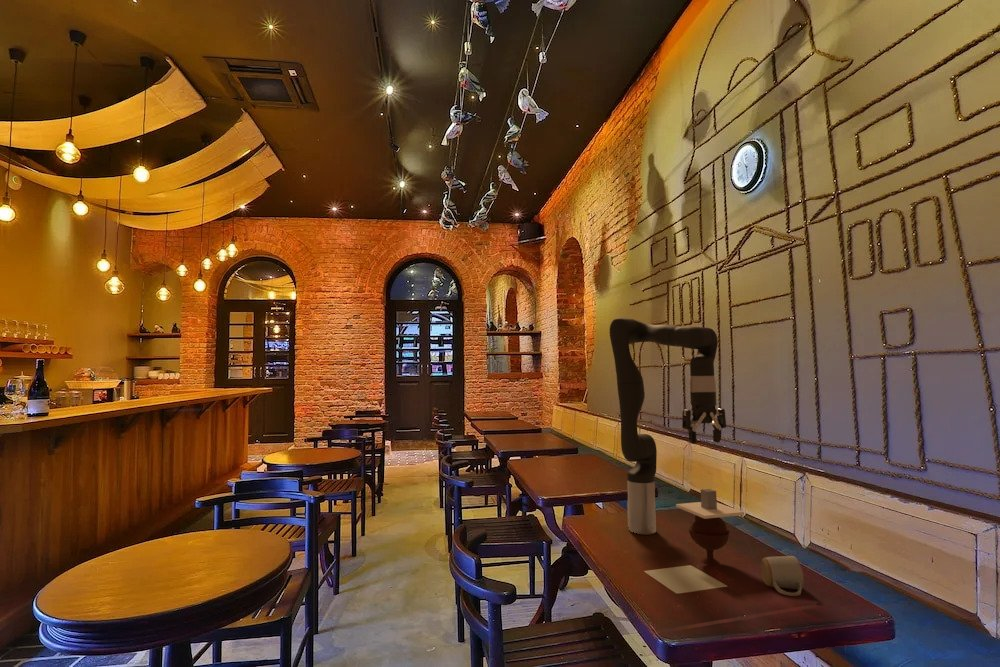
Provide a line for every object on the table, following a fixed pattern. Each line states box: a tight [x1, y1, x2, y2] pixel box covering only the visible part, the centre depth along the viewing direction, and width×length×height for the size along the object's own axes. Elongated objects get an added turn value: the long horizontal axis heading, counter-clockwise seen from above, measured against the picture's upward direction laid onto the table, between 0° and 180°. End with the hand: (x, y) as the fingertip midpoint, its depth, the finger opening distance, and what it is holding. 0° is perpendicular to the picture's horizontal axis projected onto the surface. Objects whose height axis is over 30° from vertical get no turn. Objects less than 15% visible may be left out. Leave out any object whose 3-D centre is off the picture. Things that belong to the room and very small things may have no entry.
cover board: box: [675, 488, 745, 519], centre depth 147 cm, size 13×13×6 cm
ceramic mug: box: [759, 555, 805, 597], centre depth 128 cm, size 11×8×8 cm
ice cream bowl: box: [688, 515, 730, 566], centre depth 146 cm, size 11×11×15 cm
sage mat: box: [643, 564, 728, 595], centre depth 134 cm, size 15×15×1 cm
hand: (705, 442), depth 157 cm, fingers open, 8 cm apart
